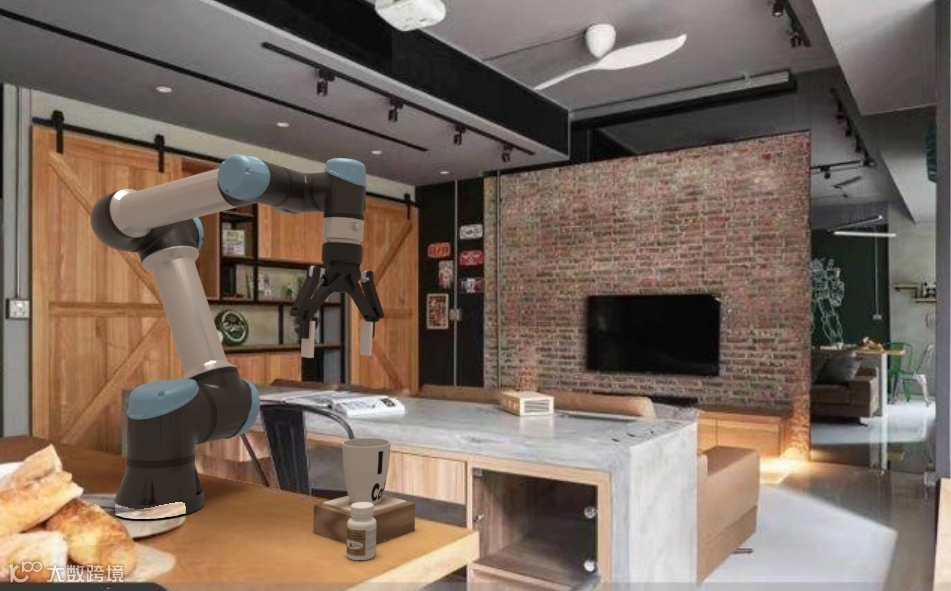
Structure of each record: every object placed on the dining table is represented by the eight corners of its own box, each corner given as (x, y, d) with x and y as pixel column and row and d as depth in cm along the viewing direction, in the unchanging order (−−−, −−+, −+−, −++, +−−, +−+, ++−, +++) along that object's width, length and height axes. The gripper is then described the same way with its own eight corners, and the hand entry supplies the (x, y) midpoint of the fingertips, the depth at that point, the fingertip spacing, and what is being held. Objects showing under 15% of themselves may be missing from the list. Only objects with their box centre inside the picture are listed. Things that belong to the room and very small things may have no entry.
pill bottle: (340, 557, 100) (341, 505, 100) (359, 548, 103) (360, 499, 104) (362, 563, 97) (364, 510, 98) (381, 554, 101) (382, 503, 101)
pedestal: (313, 532, 111) (314, 502, 111) (366, 516, 120) (367, 488, 120) (361, 549, 103) (362, 517, 103) (414, 530, 113) (415, 500, 113)
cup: (379, 510, 107) (381, 448, 107) (333, 506, 109) (334, 445, 109) (395, 497, 115) (396, 439, 115) (351, 493, 117) (353, 436, 117)
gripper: (298, 234, 112) (292, 359, 111) (404, 248, 131) (399, 355, 130) (273, 236, 116) (267, 356, 116) (379, 249, 136) (374, 352, 135)
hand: (337, 356), depth 123 cm, fingers open, 13 cm apart
